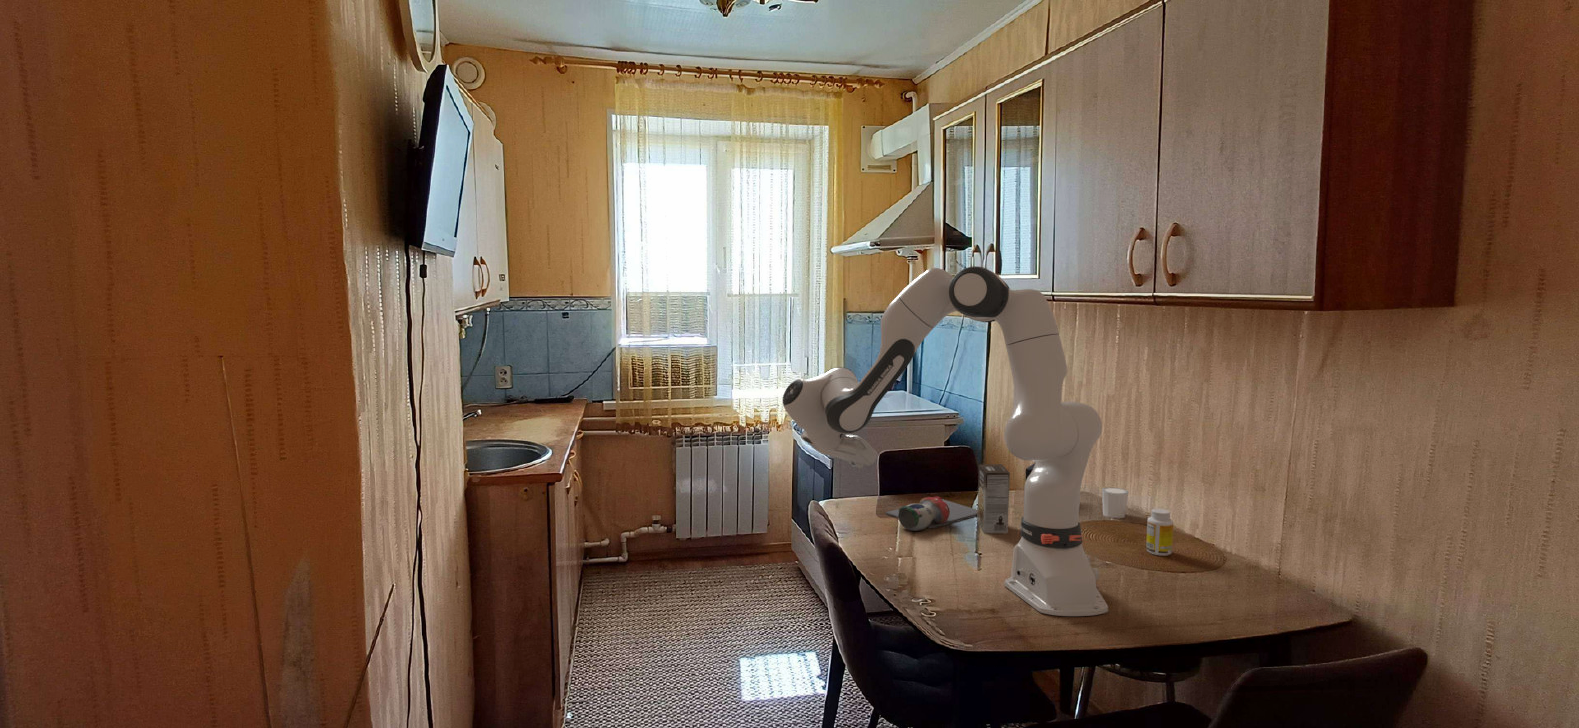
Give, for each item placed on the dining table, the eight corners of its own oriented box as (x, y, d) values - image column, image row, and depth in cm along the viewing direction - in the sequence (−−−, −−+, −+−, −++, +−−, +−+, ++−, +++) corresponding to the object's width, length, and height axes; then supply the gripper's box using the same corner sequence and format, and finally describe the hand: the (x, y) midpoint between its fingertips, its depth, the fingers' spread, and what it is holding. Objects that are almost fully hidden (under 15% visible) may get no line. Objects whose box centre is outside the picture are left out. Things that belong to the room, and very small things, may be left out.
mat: (928, 529, 200) (928, 527, 200) (885, 514, 213) (886, 512, 213) (983, 513, 214) (983, 511, 214) (940, 500, 226) (940, 498, 226)
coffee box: (976, 522, 206) (977, 463, 204) (1000, 522, 206) (1001, 463, 204) (984, 533, 197) (985, 472, 195) (1009, 533, 197) (1011, 472, 195)
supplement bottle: (1174, 552, 184) (1177, 510, 182) (1167, 558, 179) (1170, 515, 178) (1150, 546, 187) (1152, 506, 186) (1142, 552, 183) (1144, 511, 182)
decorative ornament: (893, 502, 202) (936, 490, 210) (894, 526, 203) (937, 513, 211) (916, 511, 195) (960, 498, 202) (918, 536, 195) (961, 522, 203)
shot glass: (1128, 513, 213) (1130, 489, 213) (1125, 520, 208) (1126, 495, 207) (1102, 510, 217) (1103, 485, 216) (1098, 516, 211) (1099, 491, 210)
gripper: (864, 427, 180) (894, 462, 187) (810, 417, 196) (839, 449, 203) (850, 449, 178) (881, 483, 185) (796, 436, 194) (826, 468, 201)
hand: (858, 465), depth 194 cm, fingers closed
